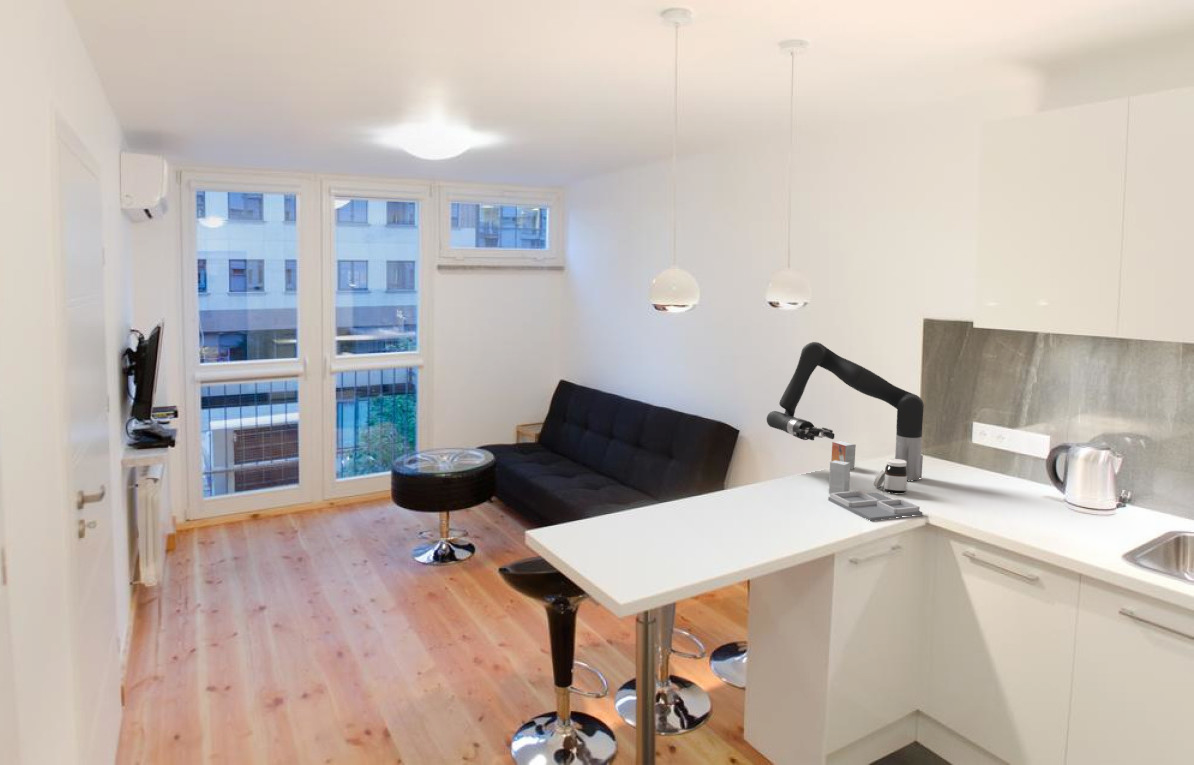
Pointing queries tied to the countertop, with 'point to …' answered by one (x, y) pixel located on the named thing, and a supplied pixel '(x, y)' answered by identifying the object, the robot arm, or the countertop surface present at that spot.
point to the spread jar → (893, 476)
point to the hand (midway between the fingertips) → (823, 437)
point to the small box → (843, 452)
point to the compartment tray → (874, 505)
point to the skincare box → (839, 477)
